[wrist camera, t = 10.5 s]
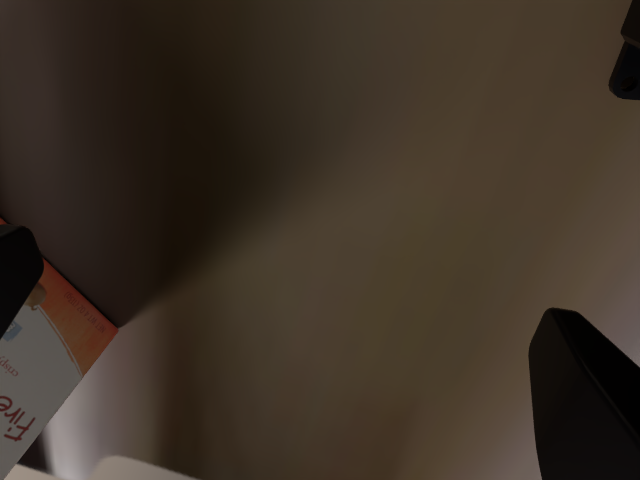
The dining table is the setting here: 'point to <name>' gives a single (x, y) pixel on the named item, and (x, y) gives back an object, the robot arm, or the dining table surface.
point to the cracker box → (45, 360)
